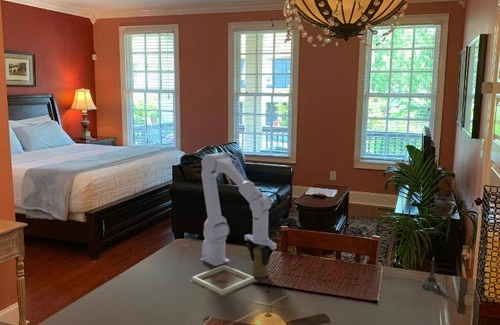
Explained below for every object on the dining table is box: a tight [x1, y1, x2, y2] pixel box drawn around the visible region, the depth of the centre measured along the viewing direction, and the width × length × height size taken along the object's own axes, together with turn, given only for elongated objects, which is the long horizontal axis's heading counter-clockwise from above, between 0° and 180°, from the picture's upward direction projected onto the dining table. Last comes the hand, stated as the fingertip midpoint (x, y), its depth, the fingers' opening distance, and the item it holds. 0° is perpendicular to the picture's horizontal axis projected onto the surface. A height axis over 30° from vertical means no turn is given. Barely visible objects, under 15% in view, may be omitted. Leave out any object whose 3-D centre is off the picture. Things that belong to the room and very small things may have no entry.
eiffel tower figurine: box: [415, 255, 452, 301], centre depth 165 cm, size 15×10×13 cm
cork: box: [251, 245, 268, 278], centre depth 175 cm, size 6×6×11 cm
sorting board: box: [188, 270, 259, 298], centre depth 169 cm, size 18×18×1 cm
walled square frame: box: [191, 264, 256, 295], centre depth 169 cm, size 16×16×2 cm
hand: (259, 262), depth 175 cm, fingers open, 5 cm apart
